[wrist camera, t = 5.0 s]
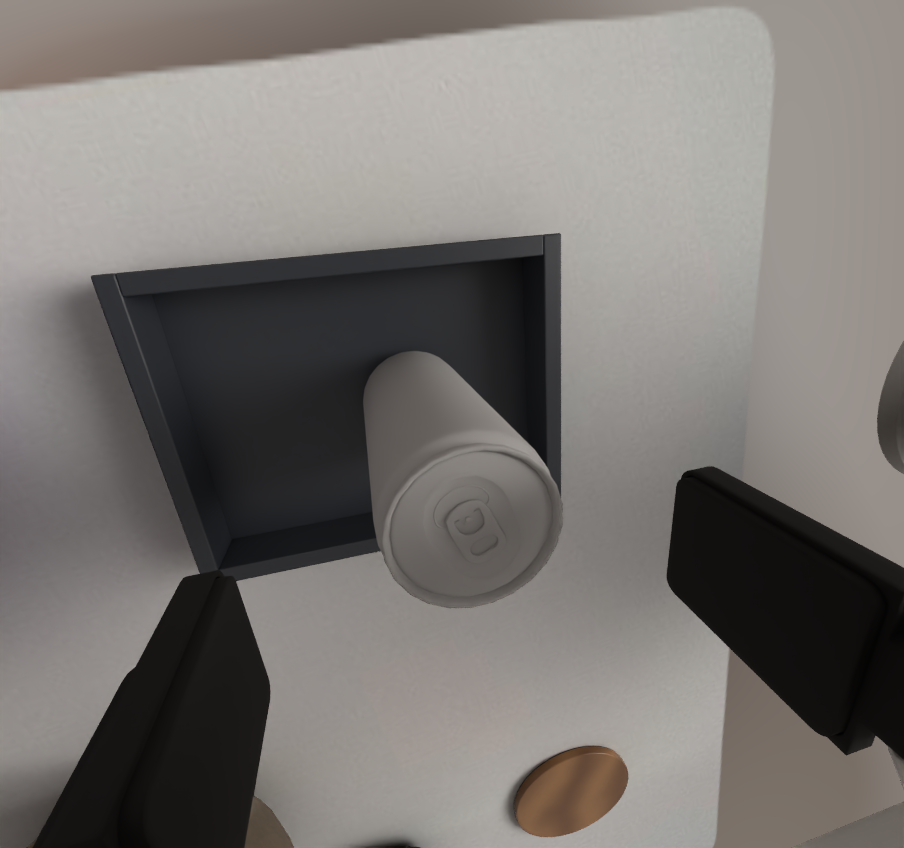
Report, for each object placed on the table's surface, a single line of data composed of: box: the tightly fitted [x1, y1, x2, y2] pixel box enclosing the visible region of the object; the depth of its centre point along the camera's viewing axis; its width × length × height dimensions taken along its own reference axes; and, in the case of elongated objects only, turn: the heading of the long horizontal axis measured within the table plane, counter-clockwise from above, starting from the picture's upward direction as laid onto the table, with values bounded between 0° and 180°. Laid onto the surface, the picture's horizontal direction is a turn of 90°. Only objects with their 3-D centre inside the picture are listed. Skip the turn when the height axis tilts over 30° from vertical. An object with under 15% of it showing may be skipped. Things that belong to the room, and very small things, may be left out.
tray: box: [91, 233, 561, 581], centre depth 20 cm, size 18×14×3 cm
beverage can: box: [363, 351, 562, 608], centre depth 16 cm, size 5×5×12 cm
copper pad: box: [514, 746, 628, 837], centre depth 36 cm, size 10×10×1 cm
